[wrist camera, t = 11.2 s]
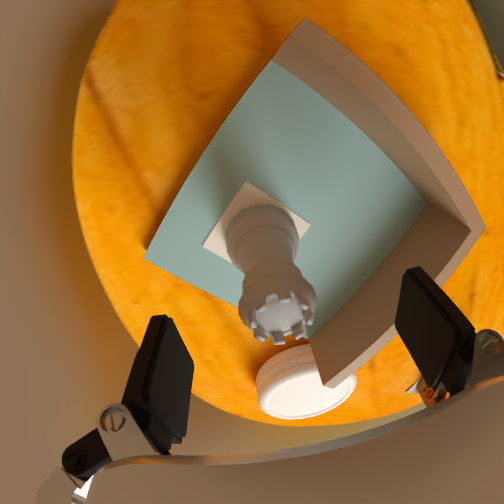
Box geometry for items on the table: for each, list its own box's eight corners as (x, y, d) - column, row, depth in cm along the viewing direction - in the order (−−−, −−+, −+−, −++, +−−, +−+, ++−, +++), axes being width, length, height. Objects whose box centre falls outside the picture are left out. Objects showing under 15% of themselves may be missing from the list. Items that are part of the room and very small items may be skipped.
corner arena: (435, 197, 18) (485, 226, 12) (315, 335, 23) (333, 388, 18) (279, 49, 13) (305, 17, 7) (146, 251, 18) (119, 303, 13)
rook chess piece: (307, 243, 18) (352, 327, 11) (250, 277, 19) (262, 372, 11) (272, 187, 16) (307, 249, 9) (210, 227, 17) (197, 312, 10)
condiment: (437, 359, 29) (473, 422, 19) (459, 362, 31) (491, 414, 21) (404, 391, 32) (432, 453, 21) (430, 391, 34) (456, 443, 24)
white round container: (364, 344, 25) (376, 369, 22) (321, 397, 29) (327, 420, 26) (275, 333, 23) (281, 364, 20) (243, 393, 27) (245, 419, 24)
